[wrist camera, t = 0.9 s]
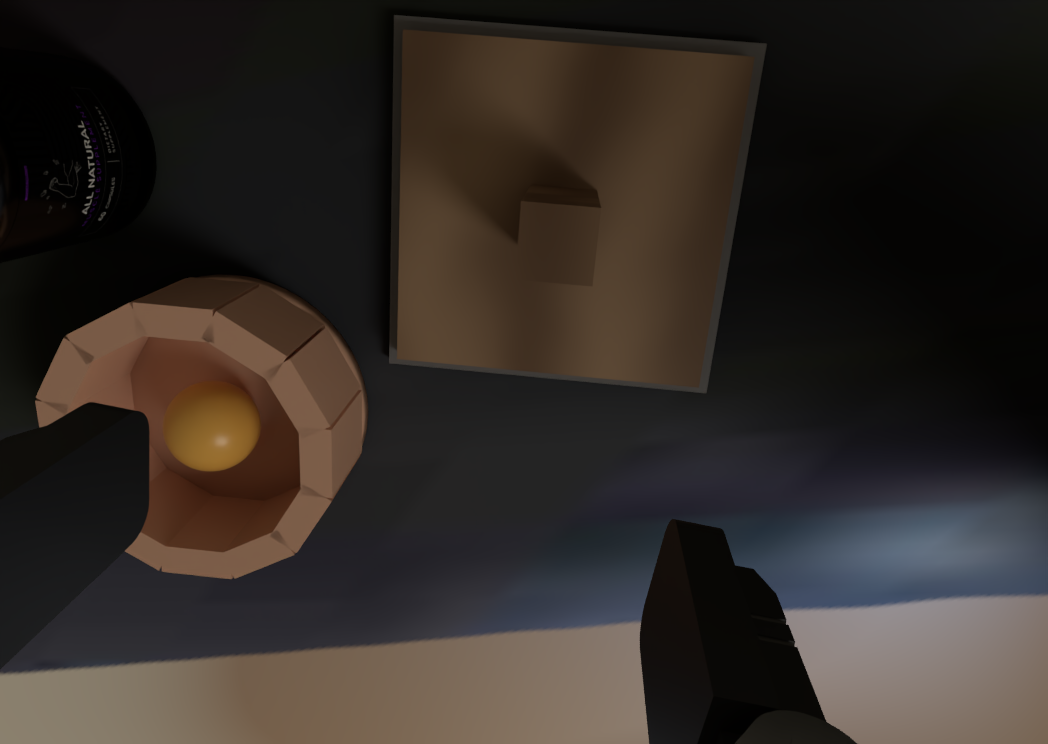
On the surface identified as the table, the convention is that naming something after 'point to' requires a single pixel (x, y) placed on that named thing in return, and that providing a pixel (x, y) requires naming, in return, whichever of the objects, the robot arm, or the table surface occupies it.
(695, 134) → the lid
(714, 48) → the mat
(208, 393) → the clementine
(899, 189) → the table surface
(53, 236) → the supplement bottle
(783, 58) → the table surface
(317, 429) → the bowl
